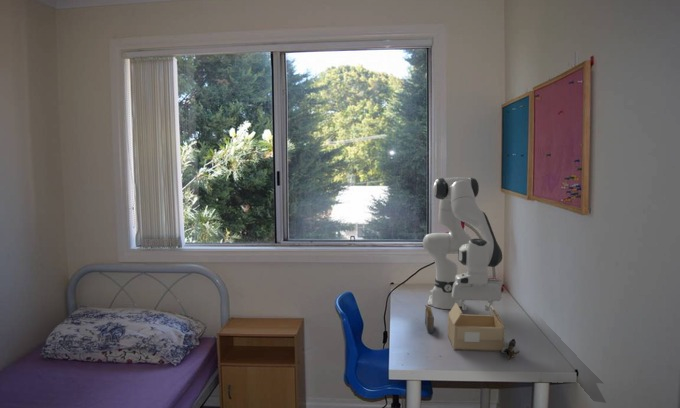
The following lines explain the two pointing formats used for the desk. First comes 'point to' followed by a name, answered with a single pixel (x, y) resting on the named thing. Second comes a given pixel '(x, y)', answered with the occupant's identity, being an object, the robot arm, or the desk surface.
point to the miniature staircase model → (429, 320)
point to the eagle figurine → (510, 349)
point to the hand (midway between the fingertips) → (475, 310)
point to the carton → (476, 333)
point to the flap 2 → (496, 315)
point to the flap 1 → (455, 313)
